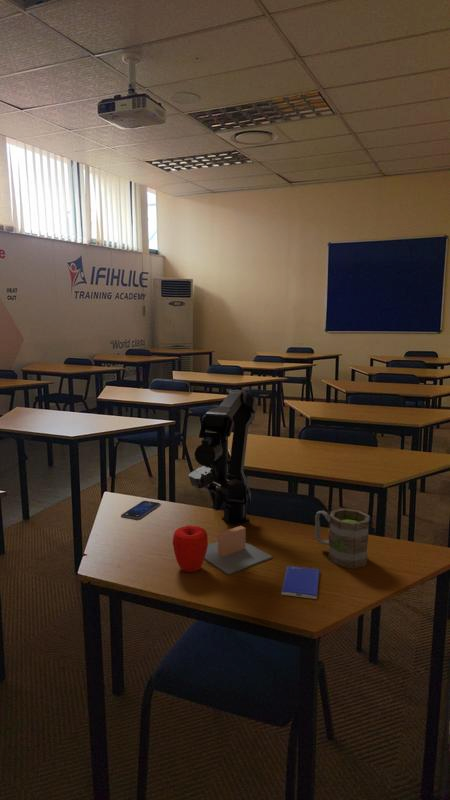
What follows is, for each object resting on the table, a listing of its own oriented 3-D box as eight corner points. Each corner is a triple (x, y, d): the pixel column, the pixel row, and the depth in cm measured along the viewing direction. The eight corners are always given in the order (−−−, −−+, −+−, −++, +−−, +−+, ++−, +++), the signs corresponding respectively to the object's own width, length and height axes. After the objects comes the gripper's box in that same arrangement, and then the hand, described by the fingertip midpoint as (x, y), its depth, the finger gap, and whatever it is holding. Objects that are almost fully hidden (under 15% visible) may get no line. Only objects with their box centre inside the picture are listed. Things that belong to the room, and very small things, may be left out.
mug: (375, 558, 136) (378, 515, 134) (356, 572, 128) (358, 527, 126) (324, 540, 146) (326, 501, 144) (303, 553, 138) (305, 511, 136)
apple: (201, 558, 135) (202, 519, 133) (212, 573, 127) (212, 532, 125) (169, 563, 132) (169, 523, 130) (178, 579, 124) (177, 537, 122)
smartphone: (119, 515, 162) (143, 500, 176) (119, 518, 162) (143, 502, 176) (139, 518, 160) (162, 502, 173) (139, 521, 160) (162, 505, 173)
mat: (234, 537, 148) (234, 536, 148) (272, 557, 135) (272, 556, 135) (192, 551, 139) (192, 550, 139) (228, 574, 126) (228, 573, 126)
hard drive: (287, 565, 129) (281, 590, 117) (319, 569, 127) (317, 594, 116) (286, 571, 130) (281, 596, 118) (319, 574, 128) (316, 601, 116)
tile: (240, 545, 141) (240, 525, 140) (245, 548, 140) (245, 528, 139) (217, 553, 137) (217, 532, 136) (222, 556, 135) (222, 535, 134)
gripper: (174, 453, 142) (175, 506, 144) (214, 469, 128) (214, 527, 130) (206, 447, 149) (206, 498, 151) (248, 462, 134) (247, 517, 137)
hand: (217, 509), depth 142 cm, fingers closed
